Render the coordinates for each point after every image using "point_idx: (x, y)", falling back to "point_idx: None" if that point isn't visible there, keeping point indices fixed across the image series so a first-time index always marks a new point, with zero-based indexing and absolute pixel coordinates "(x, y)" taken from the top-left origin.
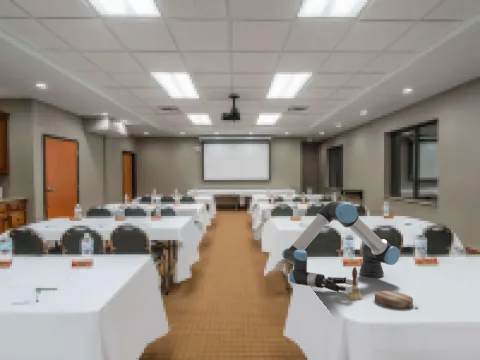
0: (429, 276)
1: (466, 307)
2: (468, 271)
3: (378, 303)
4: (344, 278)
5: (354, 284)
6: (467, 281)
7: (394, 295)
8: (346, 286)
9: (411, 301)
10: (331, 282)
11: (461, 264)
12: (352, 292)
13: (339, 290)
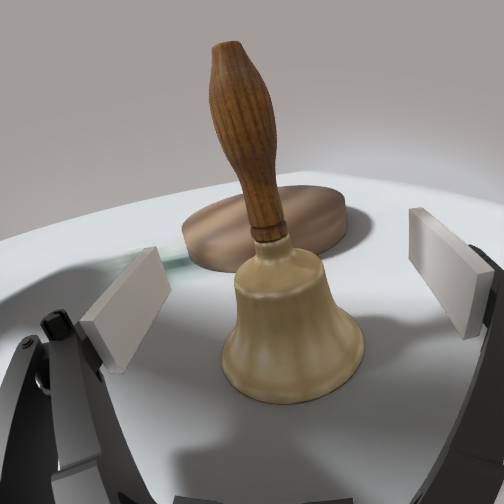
0: (7, 256)
1: (219, 187)
2: (7, 240)
3: (331, 245)
4: (37, 347)
5: (287, 231)
6: (52, 226)
7: (241, 210)
8: (444, 228)
9: (286, 186)
10: (470, 449)
11: None
12: (333, 303)
13: (479, 332)
